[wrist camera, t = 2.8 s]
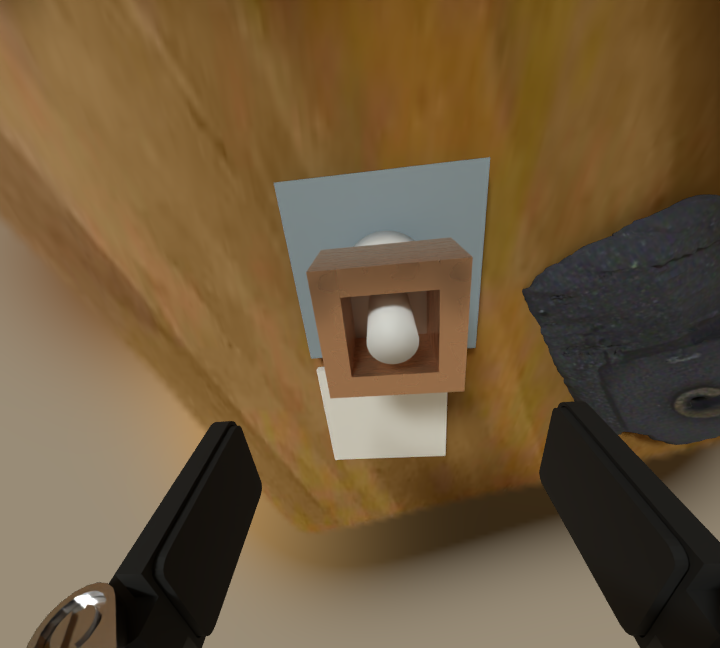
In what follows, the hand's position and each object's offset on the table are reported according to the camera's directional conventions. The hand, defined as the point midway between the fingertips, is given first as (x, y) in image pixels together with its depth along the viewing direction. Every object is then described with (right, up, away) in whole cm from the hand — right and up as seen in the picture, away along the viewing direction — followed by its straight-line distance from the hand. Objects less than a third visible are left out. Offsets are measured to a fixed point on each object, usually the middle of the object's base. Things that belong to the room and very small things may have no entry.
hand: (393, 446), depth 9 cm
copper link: (+1, +5, +9) cm, 10 cm away
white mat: (+2, -5, +22) cm, 22 cm away
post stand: (+1, +8, +15) cm, 17 cm away
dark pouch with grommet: (+24, +3, +17) cm, 29 cm away
